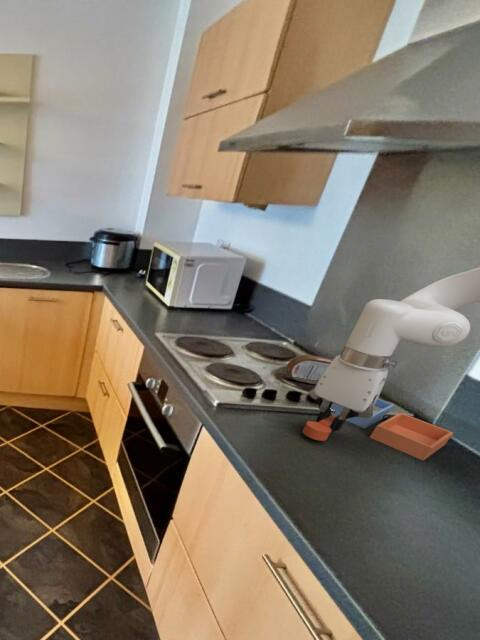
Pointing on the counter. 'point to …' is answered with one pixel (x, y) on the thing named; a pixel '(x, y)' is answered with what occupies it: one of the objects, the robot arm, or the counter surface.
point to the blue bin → (367, 421)
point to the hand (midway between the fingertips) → (325, 428)
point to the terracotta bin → (411, 435)
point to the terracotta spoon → (319, 428)
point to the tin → (308, 367)
